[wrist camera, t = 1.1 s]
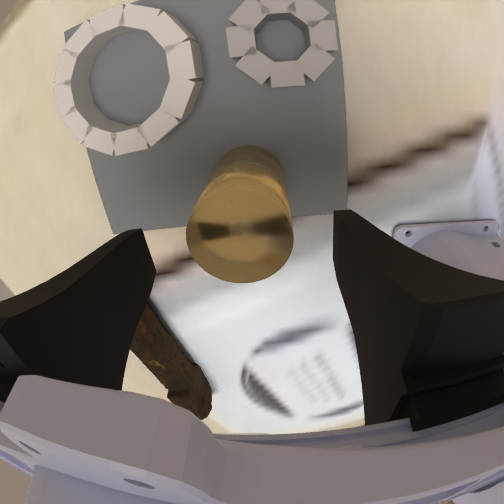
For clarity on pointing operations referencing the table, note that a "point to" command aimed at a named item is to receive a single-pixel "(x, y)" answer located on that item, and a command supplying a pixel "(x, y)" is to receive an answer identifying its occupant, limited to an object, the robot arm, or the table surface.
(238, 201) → the round peg
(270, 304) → the table surface
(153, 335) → the brown wooden stick
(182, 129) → the fitting board
